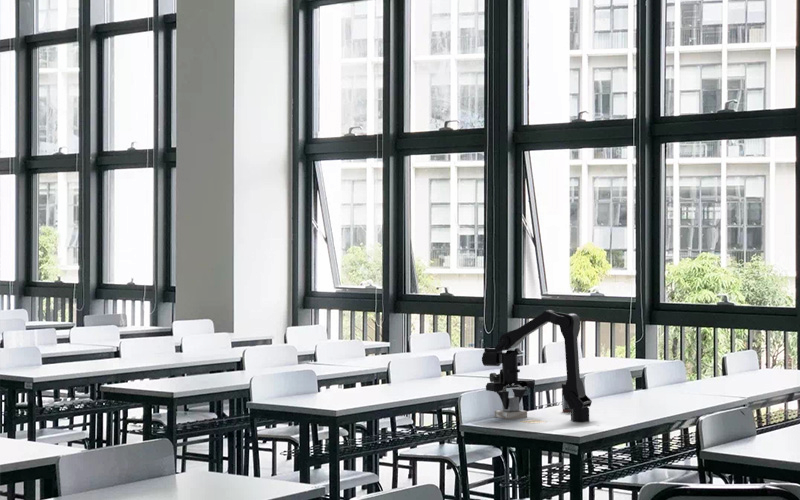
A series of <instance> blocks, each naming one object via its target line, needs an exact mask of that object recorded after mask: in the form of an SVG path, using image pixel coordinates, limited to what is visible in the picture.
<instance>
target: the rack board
mask: <svg viewBox="0 0 800 500" xmlns="http://www.w3.org/2000/svg"><path fill="white" fill-rule="evenodd" d="M492 418H499V419H504V420H505V419H506V420H513V419H514V420H515V419H523V418H528V410H524V409H523V410H522V409H519V411H512V412H508V411H503V409H500V410H499V409H498V410H494V416H492Z"/></svg>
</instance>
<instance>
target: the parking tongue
mask: <svg viewBox="0 0 800 500" xmlns="http://www.w3.org/2000/svg"><path fill="white" fill-rule="evenodd" d="M520 422H521V423H527V424H531V425H533V424H540V423H541V424H542V423H547V421H545V420H541V419H540V420H539V419H530V420H529V419H527V420H521V421H520Z"/></svg>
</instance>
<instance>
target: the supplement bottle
mask: <svg viewBox="0 0 800 500" xmlns="http://www.w3.org/2000/svg"><path fill="white" fill-rule="evenodd" d="M562 392H563V390H562V389H561V393H562ZM561 399H562V400H561V404H562V405H561V406H562V407H561V408H562V412H563V413H566V412H571V409H570V408H569V405H568V403H567V402H566V401H565V399H564V395H563V396H562V395H561Z"/></svg>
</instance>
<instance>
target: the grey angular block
mask: <svg viewBox="0 0 800 500" xmlns="http://www.w3.org/2000/svg"><path fill="white" fill-rule="evenodd" d="M502 410H503V411H508V412H512V411H519V410H520V403H519V397H514V395H513V396H511V395H509V396H508V407H507V409H504V406H503V405H502Z"/></svg>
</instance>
